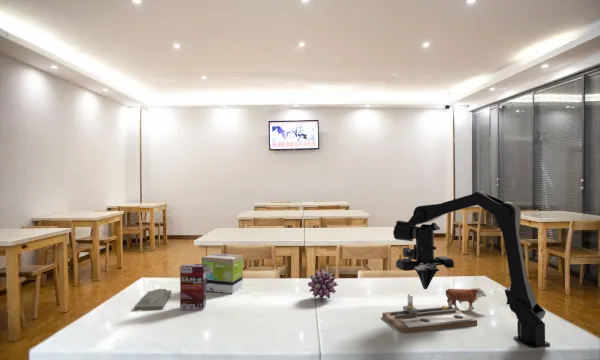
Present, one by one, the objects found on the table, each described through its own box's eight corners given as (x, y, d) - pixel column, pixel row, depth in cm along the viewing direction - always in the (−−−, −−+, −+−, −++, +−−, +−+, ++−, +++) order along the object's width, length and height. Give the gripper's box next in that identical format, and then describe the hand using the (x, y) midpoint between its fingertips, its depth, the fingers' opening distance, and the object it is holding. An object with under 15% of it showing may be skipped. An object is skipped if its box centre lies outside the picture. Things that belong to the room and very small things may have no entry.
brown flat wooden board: (477, 324, 122) (477, 315, 122) (402, 333, 116) (402, 323, 116) (450, 310, 135) (450, 302, 135) (382, 317, 129) (382, 308, 129)
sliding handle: (417, 312, 126) (417, 296, 126) (409, 313, 125) (408, 297, 125) (411, 308, 130) (411, 292, 130) (403, 309, 129) (403, 293, 129)
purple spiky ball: (343, 301, 146) (343, 270, 147) (314, 305, 142) (314, 273, 142) (330, 293, 157) (329, 264, 157) (303, 297, 153) (302, 267, 153)
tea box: (200, 291, 162) (200, 256, 162) (212, 285, 172) (212, 252, 172) (232, 294, 158) (232, 258, 158) (243, 287, 167) (243, 254, 167)
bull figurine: (487, 312, 133) (487, 288, 133) (446, 310, 136) (446, 287, 136) (484, 308, 137) (483, 285, 137) (444, 306, 140) (444, 283, 140)
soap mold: (133, 312, 138) (133, 303, 138) (147, 296, 158) (147, 287, 158) (162, 311, 140) (162, 301, 140) (172, 295, 160) (172, 286, 160)
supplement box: (179, 310, 138) (179, 266, 138) (183, 306, 143) (183, 263, 143) (203, 310, 138) (203, 266, 138) (206, 305, 143) (206, 263, 143)
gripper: (435, 238, 139) (436, 280, 139) (388, 240, 135) (388, 284, 135) (454, 242, 128) (455, 289, 128) (404, 245, 124) (404, 293, 124)
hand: (425, 288), depth 129 cm, fingers closed
